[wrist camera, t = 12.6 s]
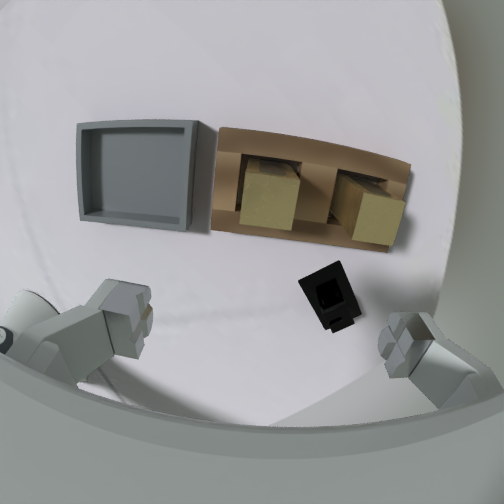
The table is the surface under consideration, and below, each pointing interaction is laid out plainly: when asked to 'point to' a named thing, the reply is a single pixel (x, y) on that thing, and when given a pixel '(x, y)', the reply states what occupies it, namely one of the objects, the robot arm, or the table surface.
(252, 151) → the pallet
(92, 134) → the shallow grey tray
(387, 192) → the block
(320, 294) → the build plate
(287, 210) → the block
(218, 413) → the table surface
